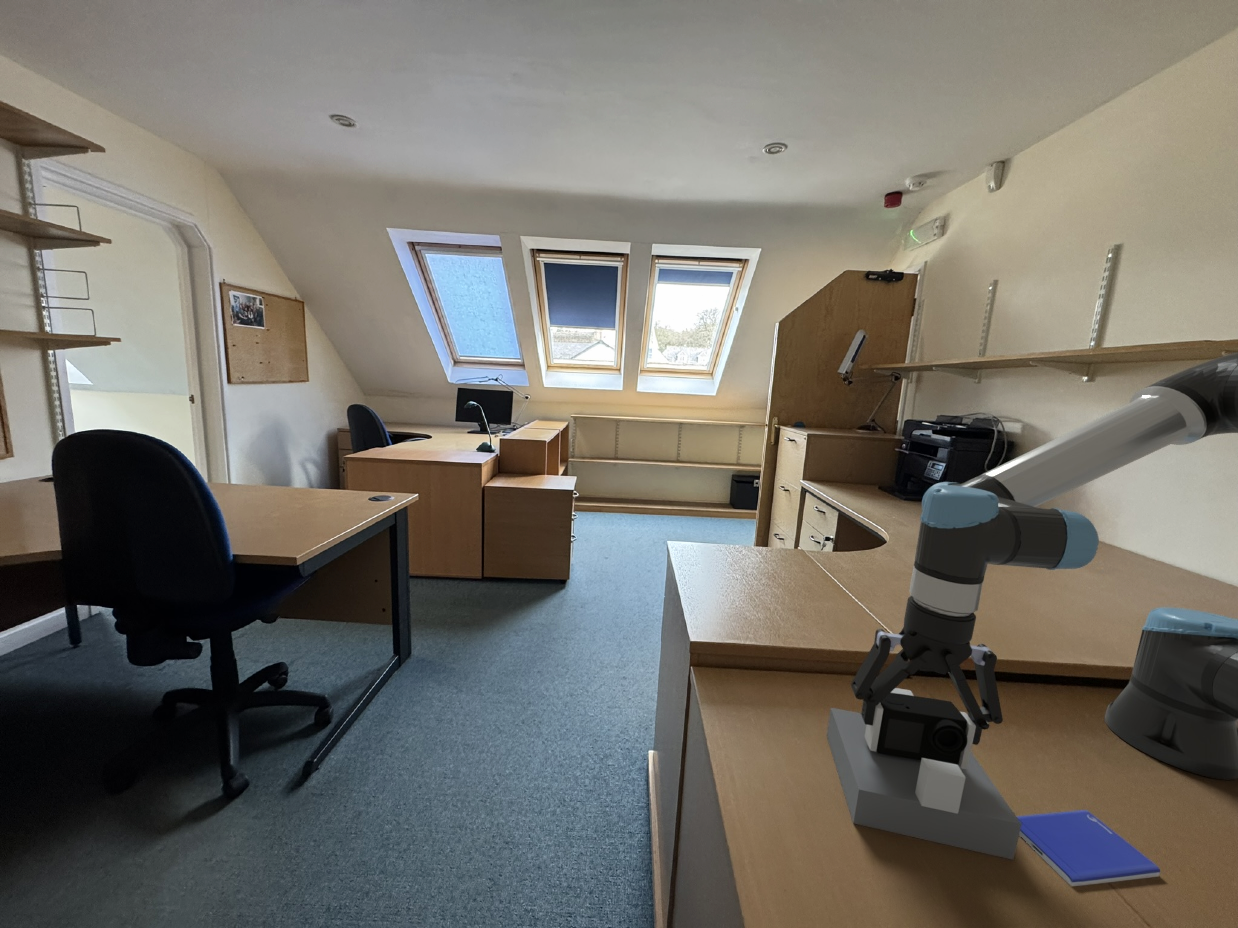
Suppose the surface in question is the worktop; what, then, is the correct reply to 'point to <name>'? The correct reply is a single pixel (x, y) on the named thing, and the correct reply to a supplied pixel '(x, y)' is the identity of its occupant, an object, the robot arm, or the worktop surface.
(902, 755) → the digital camera
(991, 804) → the stand
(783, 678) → the worktop surface
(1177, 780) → the worktop surface
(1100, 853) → the hard drive
